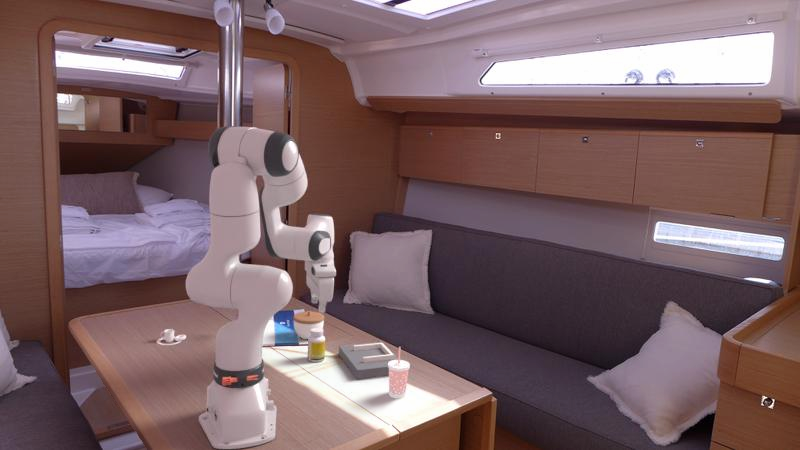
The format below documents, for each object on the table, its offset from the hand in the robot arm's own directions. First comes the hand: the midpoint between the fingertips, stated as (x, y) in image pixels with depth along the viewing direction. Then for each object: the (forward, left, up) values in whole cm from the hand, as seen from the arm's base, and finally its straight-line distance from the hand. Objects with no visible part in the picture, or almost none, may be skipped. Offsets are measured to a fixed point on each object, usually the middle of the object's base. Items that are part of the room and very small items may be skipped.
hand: (318, 307), depth 174 cm
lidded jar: (+20, -2, -17) cm, 26 cm away
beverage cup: (-30, -16, -17) cm, 38 cm away
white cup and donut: (+25, +42, -18) cm, 52 cm away
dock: (-8, -15, -17) cm, 24 cm away
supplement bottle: (0, 0, -17) cm, 17 cm away
